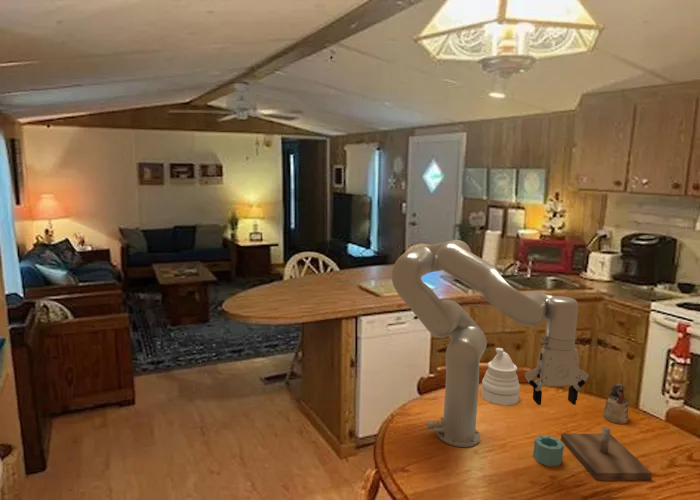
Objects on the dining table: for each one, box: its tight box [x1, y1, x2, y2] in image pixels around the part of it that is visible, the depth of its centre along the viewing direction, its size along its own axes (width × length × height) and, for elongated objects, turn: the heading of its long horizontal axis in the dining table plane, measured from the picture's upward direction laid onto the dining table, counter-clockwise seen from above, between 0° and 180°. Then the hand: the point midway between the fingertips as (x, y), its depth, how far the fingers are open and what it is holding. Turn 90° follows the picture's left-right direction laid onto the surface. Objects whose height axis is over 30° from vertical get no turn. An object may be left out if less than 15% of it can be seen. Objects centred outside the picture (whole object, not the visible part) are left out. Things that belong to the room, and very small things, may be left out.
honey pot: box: [480, 347, 521, 406], centre depth 182 cm, size 13×13×18 cm
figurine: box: [603, 383, 629, 425], centre depth 168 cm, size 7×7×12 cm
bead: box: [532, 435, 565, 467], centre depth 144 cm, size 7×7×5 cm
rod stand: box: [560, 426, 653, 481], centre depth 145 cm, size 15×20×9 cm
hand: (554, 402), depth 142 cm, fingers open, 9 cm apart
